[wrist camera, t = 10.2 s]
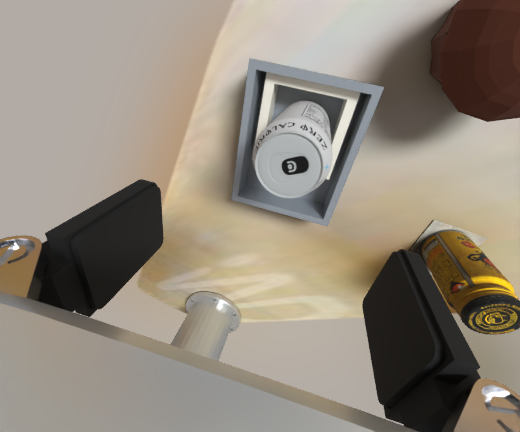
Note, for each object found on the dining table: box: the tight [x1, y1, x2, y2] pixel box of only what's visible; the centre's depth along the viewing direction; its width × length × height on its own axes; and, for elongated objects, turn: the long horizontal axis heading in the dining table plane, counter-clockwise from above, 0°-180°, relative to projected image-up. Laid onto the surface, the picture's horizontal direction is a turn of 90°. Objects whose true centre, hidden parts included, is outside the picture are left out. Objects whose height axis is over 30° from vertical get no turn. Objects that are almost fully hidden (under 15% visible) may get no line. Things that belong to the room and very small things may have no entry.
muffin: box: [429, 0, 520, 122], centre depth 19 cm, size 12×11×10 cm
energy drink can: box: [253, 100, 332, 198], centre depth 23 cm, size 6×6×15 cm
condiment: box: [409, 220, 520, 334], centre depth 29 cm, size 7×8×12 cm
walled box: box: [231, 58, 384, 226], centre depth 29 cm, size 16×13×5 cm
